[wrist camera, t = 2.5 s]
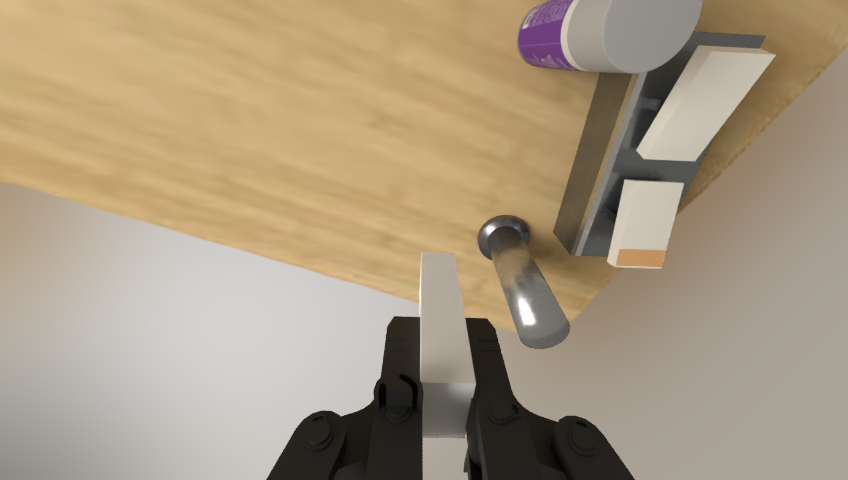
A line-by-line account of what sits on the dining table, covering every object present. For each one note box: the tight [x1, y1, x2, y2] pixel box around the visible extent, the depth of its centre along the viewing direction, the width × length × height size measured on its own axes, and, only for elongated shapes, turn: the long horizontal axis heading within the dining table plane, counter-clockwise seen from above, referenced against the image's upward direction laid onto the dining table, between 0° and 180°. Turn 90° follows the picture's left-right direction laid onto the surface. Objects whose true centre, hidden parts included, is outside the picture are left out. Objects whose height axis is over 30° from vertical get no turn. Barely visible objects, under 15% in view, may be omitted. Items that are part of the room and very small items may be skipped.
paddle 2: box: [636, 45, 776, 161], centre depth 24 cm, size 8×4×1 cm, turn 176°
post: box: [478, 215, 570, 349], centre depth 31 cm, size 6×6×15 cm
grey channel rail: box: [553, 32, 765, 256], centre depth 30 cm, size 20×9×6 cm, turn 177°
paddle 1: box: [607, 180, 684, 269], centre depth 29 cm, size 8×4×2 cm, turn 178°
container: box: [517, 0, 703, 74], centre depth 21 cm, size 5×5×15 cm
